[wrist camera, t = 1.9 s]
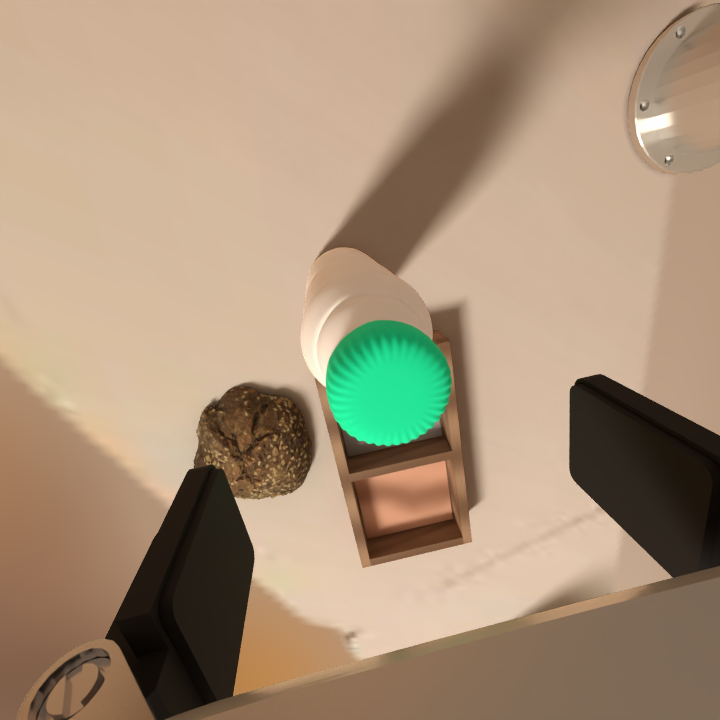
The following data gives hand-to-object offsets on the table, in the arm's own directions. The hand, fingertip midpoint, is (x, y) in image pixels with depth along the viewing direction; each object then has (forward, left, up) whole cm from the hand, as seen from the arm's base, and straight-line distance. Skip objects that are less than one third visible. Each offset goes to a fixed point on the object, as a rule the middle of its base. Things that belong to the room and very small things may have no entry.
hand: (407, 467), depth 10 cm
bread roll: (+12, +14, -29) cm, 35 cm away
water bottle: (0, 0, -29) cm, 29 cm away
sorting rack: (-2, +19, -29) cm, 35 cm away
